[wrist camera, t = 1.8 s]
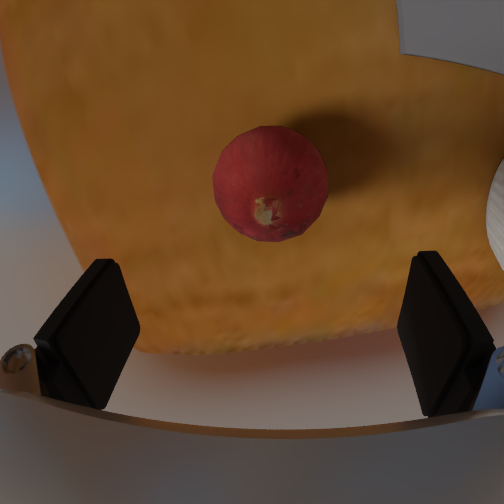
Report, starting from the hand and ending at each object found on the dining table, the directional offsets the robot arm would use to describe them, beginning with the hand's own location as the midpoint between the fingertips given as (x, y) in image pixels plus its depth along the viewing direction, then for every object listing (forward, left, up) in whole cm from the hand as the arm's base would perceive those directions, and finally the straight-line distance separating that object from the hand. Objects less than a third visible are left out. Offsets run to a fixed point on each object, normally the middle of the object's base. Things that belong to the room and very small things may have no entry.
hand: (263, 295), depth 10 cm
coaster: (-12, +12, -12) cm, 20 cm away
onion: (-1, 0, -12) cm, 12 cm away
